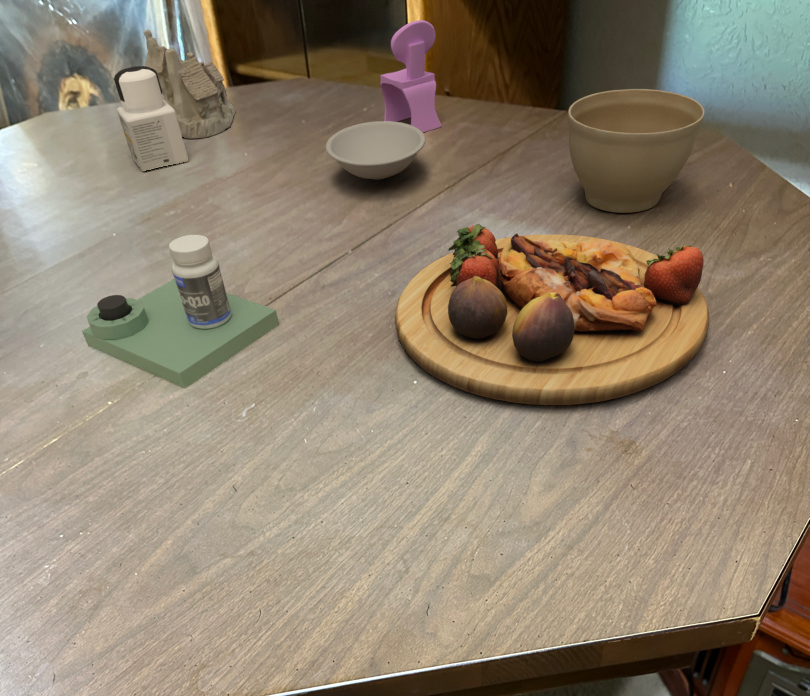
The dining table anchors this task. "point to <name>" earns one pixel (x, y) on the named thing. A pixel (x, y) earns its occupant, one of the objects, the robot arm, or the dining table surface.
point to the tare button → (113, 307)
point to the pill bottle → (199, 282)
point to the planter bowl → (631, 145)
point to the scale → (176, 335)
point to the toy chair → (411, 78)
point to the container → (148, 119)
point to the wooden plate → (553, 317)
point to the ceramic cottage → (191, 91)
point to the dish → (376, 148)
